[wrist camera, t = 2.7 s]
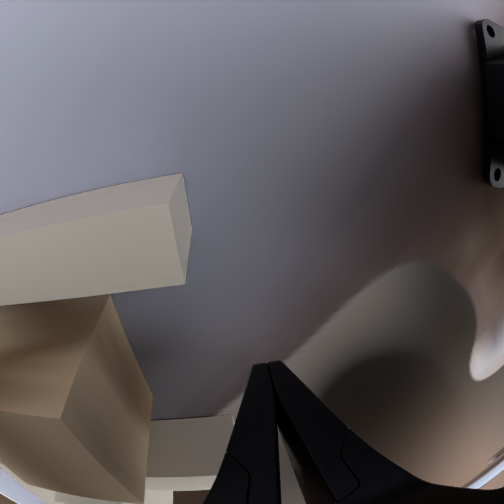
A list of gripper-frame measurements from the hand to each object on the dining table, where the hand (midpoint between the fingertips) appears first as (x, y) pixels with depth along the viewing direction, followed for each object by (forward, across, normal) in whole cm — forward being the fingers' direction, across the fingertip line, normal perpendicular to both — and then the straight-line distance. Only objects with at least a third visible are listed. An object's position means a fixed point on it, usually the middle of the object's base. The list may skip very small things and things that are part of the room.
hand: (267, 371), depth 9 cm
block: (+2, +7, 0) cm, 7 cm away
